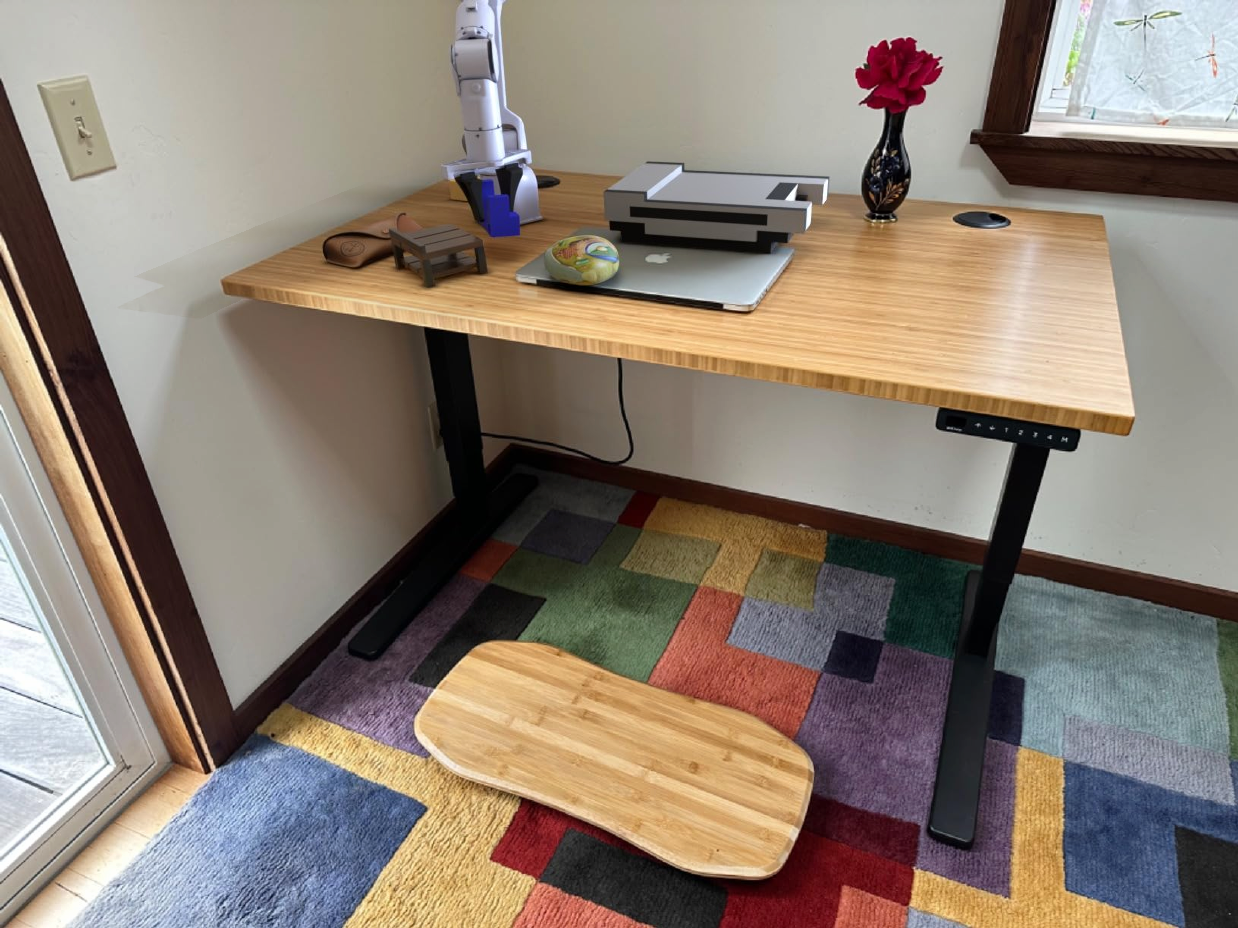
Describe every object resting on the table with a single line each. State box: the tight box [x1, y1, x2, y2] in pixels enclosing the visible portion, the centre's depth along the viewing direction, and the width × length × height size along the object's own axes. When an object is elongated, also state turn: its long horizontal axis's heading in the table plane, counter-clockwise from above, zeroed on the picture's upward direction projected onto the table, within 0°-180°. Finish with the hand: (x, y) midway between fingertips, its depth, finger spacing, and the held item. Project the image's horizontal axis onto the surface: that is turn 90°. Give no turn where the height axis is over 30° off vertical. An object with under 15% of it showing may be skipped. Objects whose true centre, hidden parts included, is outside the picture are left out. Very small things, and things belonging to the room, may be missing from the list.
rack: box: [389, 223, 488, 288], centre depth 132 cm, size 10×12×6 cm
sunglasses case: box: [321, 212, 425, 268], centre depth 143 cm, size 18×7×7 cm
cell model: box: [543, 234, 620, 286], centre depth 126 cm, size 11×8×15 cm
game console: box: [602, 160, 831, 254], centre depth 142 cm, size 21×32×8 cm, turn 69°
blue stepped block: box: [478, 179, 521, 239], centre depth 136 cm, size 12×4×6 cm, turn 20°
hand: (493, 217), depth 137 cm, fingers closed on blue stepped block, 4 cm apart
